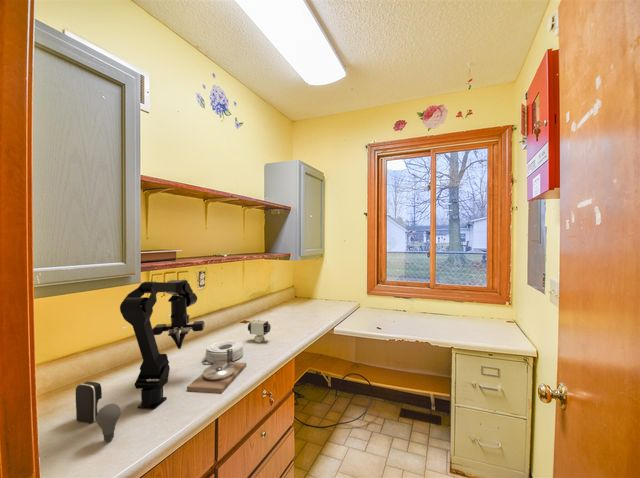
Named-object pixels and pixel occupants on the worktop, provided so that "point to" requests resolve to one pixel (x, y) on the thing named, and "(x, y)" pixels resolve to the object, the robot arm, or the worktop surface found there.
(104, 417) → the light bulb
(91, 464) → the worktop surface
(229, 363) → the metal disc with handle
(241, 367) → the board
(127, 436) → the worktop surface
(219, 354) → the cable
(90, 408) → the battery charger
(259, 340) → the pneumatic valve
